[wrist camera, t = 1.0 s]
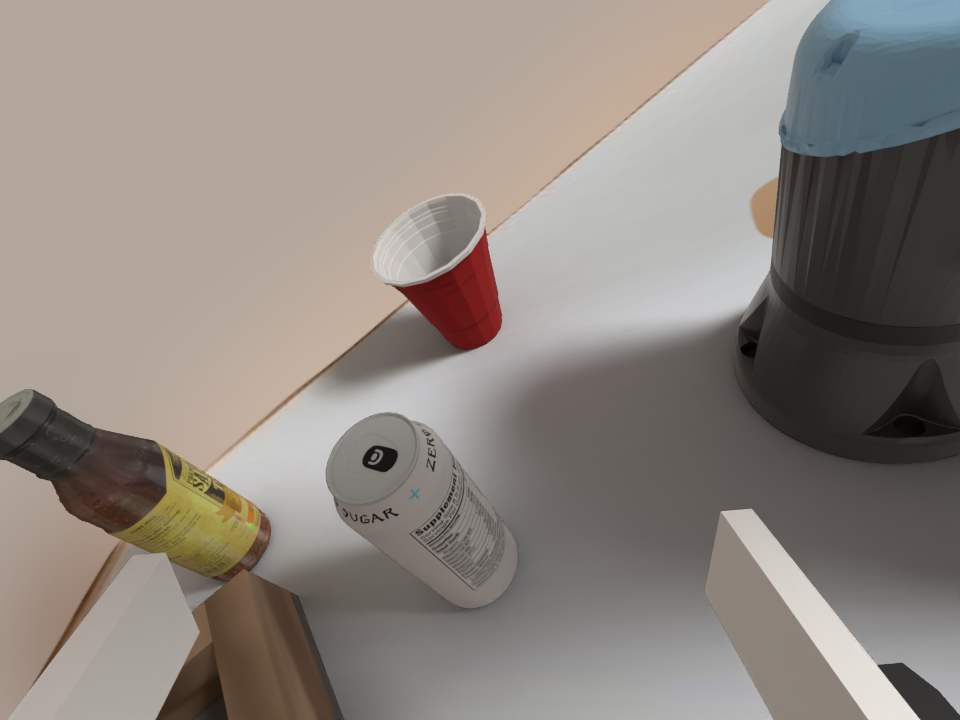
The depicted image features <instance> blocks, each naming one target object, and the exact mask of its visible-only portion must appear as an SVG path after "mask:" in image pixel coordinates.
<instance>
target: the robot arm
mask: <svg viewBox="0 0 960 720" xmlns="http://www.w3.org/2000/svg"><path fill="white" fill-rule="evenodd" d="M779 135H780V136H781V143H782V148H781V159H780V170H779V181H778V192H777V203H776V214H775V224H774V225H775V226H774V235H773V246H772V259H771V267H770V271H769V273H768V275H767V276H766V278H765V280H764V281H763V283H762V285H761V286H760V288H759V290H758V291H757V293H756V295H755V296H754V298H753V300H752V301H751V303H750V305H749V306H748V308H747V310H746V311H745V313H744V315H743V317H742V319H741V321H740V323H739V326H738V330H737V334H736V340H735V372H736V376H737V379H738V382H739V385H740V387H741V389H742V391H743V393H744V395H745V396H746V398H747V399H748V401H749V402H750V403H751V404H752V406H753V407H754V408H755V409H756V410H757V411H758V412H759V413H760V414H761V415H762V416H763V417H764V418H765V419H766V420H767V421H769V422H770V423H771V424H772V425H774V426H775V427H777V428H778V429H779V430H781V431H782V432H784V433H786V434H787V435H789V436H791V437H793V438H794V439H796V440H798V441H800V442H802V443H805V444H807V445H809V446H811V447H814V448H816V449H819V450H822V451H825V452H828V453H831V454H835V455H838V456H842V457H846V458H850V459H856V460H861V461H869V462H878V463H918V462H927V461H934V460H938V459H943V458H947V457H951V456H954V455H957V454H960V0H831V1H830V2H829V3H828V4H827V5H826V6H825V7H824V8H823V9H822V10H821V11H820V12H819V13H818V14H817V16H816V17H815V18H814V20H813V21H812V22H811V23H810V25H809V26H808V28H807V30H806V31H805V33H804V35H803V37H802V39H801V41H800V43H799V45H798V48H797V51H796V54H795V58H794V63H793V69H792V75H791V81H790V87H789V93H788V99H787V105H786V109H785V111H784V113H783V115H782V118H781V121H780V124H779ZM704 593H705V595H706V597H707V598H708V600H709V602H710V604H711V606H712V608H713V609H714V611H715V613H716V615H717V617H718V619H719V620H720V622H721V624H722V626H723V628H724V630H725V631H726V633H727V635H728V637H729V639H730V640H731V642H732V644H733V646H734V648H735V650H736V651H737V653H738V655H739V657H740V659H741V661H742V662H743V664H744V666H745V668H746V670H747V672H748V673H749V675H750V677H751V679H752V681H753V682H754V684H755V686H756V688H757V690H758V692H759V693H760V695H761V697H762V699H763V701H764V703H765V704H766V706H767V708H768V710H769V712H770V714H771V715H772V717H773V719H774V720H960V715H959V714H958V713H957V712H956V710H955V709H954V708H953V707H952V706H951V705H950V704H949V702H948V701H947V700H946V699H945V698H944V697H943V696H942V694H941V693H940V692H939V691H938V690H937V689H935V688H934V687H933V686H932V685H930V684H929V683H928V682H926V681H925V680H924V679H923V678H921V677H920V676H919V675H917V674H916V673H915V672H913V671H912V670H911V669H910V668H908V667H907V666H906V665H904V664H903V663H895V664H883V665H876V664H875V662H874V661H873V660H872V659H871V657H870V656H869V655H868V654H867V652H866V651H865V650H864V649H863V647H862V646H861V645H860V644H859V642H858V641H857V640H856V639H855V637H854V636H853V635H852V634H851V632H850V631H849V630H848V629H847V627H846V626H845V625H844V624H843V622H842V621H841V620H840V619H839V617H838V616H837V615H836V614H835V612H834V611H833V610H832V609H831V607H830V606H829V605H828V604H827V602H826V601H825V600H824V598H823V597H822V596H821V595H820V593H819V592H818V591H817V590H816V588H815V587H814V586H813V585H812V583H811V582H810V581H809V580H808V578H807V577H806V576H805V575H804V573H803V572H802V571H801V570H800V568H799V567H798V566H797V565H796V563H795V562H794V561H793V560H792V558H791V557H790V556H789V555H788V553H787V552H786V551H785V550H784V548H783V547H782V546H781V545H780V543H779V542H778V541H777V540H776V538H775V537H774V536H773V535H772V533H771V532H770V531H769V530H768V528H767V527H766V526H765V524H764V523H763V522H762V521H761V519H760V518H759V517H758V516H757V514H756V513H755V512H754V511H753V509H742V510H729V511H720V516H719V521H718V526H717V531H716V536H715V541H714V546H713V551H712V556H711V562H710V567H709V572H708V577H707V582H706V587H705V592H704ZM199 633H200V631H199V629H198V627H197V624H196V622H195V620H194V617H193V615H192V613H191V610H190V608H189V606H188V603H187V601H186V599H185V596H184V594H183V592H182V589H181V587H180V585H179V582H178V580H177V578H176V575H175V573H174V571H173V568H172V566H171V564H170V561H169V559H168V557H167V554H166V553H153V554H139V555H132V556H131V558H130V559H129V560H128V561H127V563H126V564H125V565H124V567H123V568H122V569H121V571H120V572H119V573H118V575H117V576H116V577H115V579H114V580H113V581H112V583H111V584H110V585H109V586H108V588H107V589H106V590H105V592H104V593H103V594H102V596H101V597H100V598H99V600H98V601H97V602H96V604H95V605H94V606H93V607H92V609H91V610H90V611H89V613H88V614H87V615H86V617H85V618H84V619H83V621H82V622H81V623H80V625H79V626H78V627H77V628H76V630H75V631H74V632H73V634H72V635H71V636H70V638H69V639H68V640H67V642H66V643H65V644H64V646H63V647H62V648H61V650H60V651H59V652H58V653H57V655H56V656H55V657H54V659H53V660H52V661H51V663H50V664H49V665H48V667H47V668H46V669H45V671H44V672H43V673H42V674H41V676H40V677H39V678H38V680H37V681H36V682H35V684H34V685H33V686H32V688H31V689H30V690H29V692H28V693H27V694H26V695H25V697H24V698H23V699H22V701H21V702H20V704H19V705H18V706H17V707H16V709H15V710H14V711H13V713H12V714H11V715H10V716H9V718H8V719H7V720H156V718H157V716H158V714H159V712H160V710H161V708H162V706H163V704H164V702H165V700H166V698H167V696H168V694H169V692H170V690H171V688H172V686H173V684H174V682H175V680H176V678H177V676H178V674H179V672H180V670H181V668H182V666H183V665H184V663H185V661H186V659H187V657H188V655H189V653H190V651H191V649H192V647H193V645H194V643H195V641H196V639H197V637H198V635H199Z"/></svg>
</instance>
